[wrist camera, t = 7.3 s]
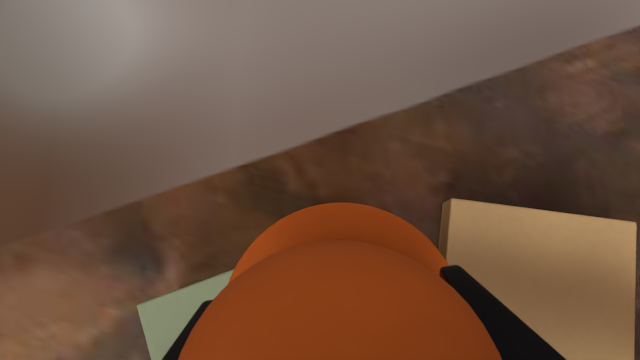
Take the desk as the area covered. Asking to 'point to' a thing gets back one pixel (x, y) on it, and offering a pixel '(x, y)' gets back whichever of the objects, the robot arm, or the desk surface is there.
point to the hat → (339, 295)
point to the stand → (551, 272)
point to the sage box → (176, 312)
